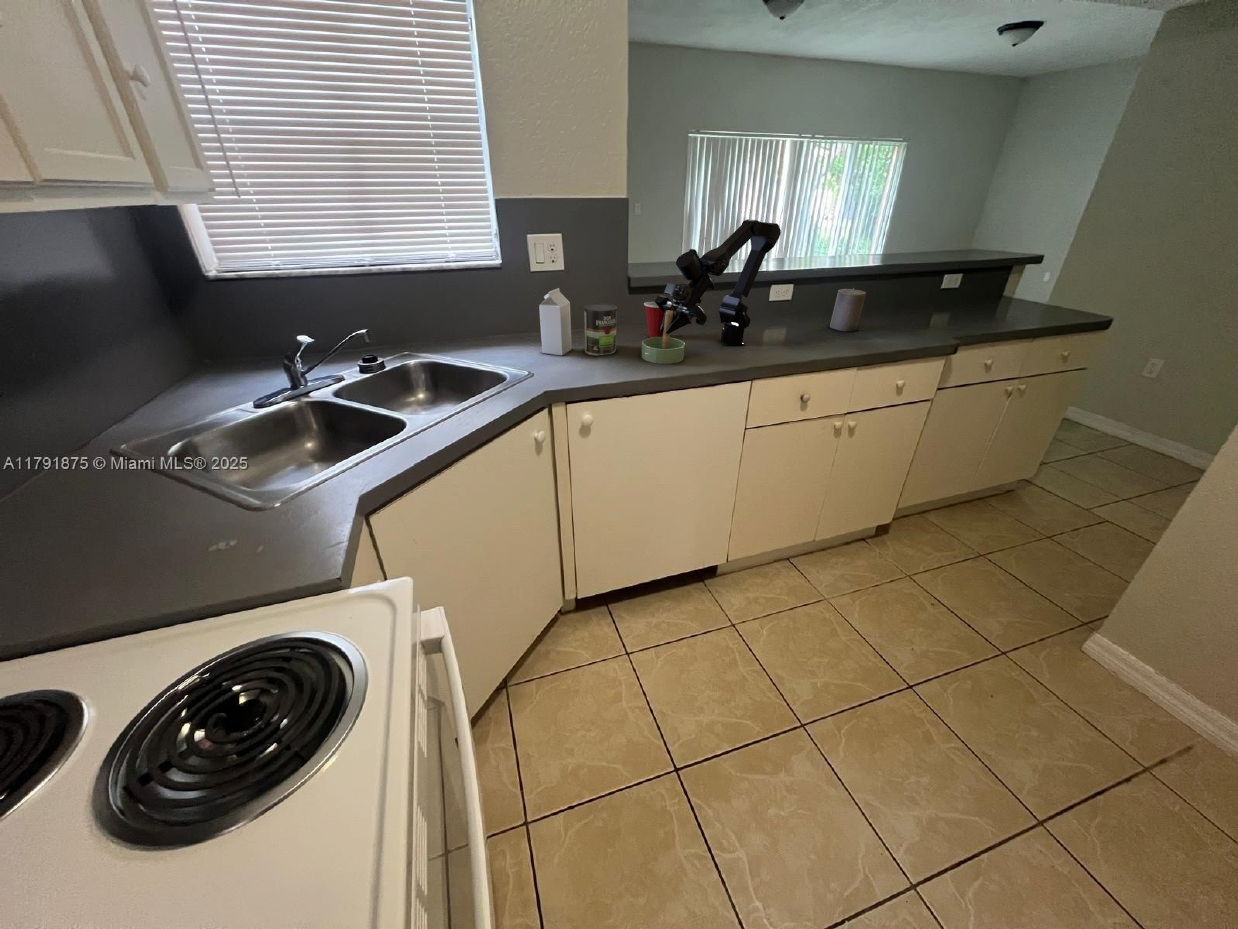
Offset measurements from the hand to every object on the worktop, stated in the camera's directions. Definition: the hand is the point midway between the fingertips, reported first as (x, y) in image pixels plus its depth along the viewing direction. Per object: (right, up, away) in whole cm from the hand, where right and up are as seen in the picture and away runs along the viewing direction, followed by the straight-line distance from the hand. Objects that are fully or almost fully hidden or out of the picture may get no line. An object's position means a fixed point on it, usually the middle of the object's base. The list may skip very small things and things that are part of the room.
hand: (663, 332), depth 146 cm
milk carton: (-33, -4, +10) cm, 35 cm away
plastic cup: (0, +5, +25) cm, 26 cm away
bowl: (0, -7, +5) cm, 9 cm away
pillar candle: (+73, +13, +41) cm, 85 cm away
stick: (+1, -6, +5) cm, 8 cm away
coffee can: (-20, -3, +11) cm, 23 cm away
